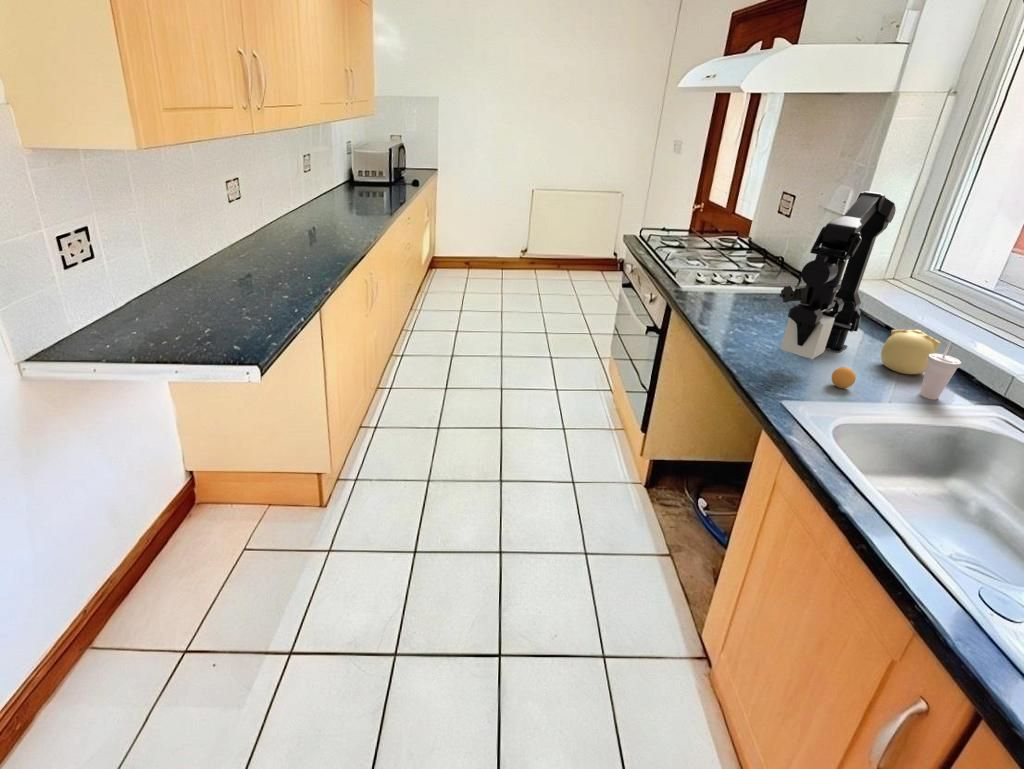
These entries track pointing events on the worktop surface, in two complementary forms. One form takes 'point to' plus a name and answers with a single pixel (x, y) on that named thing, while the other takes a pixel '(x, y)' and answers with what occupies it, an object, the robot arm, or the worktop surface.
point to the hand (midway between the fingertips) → (806, 341)
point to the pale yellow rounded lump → (908, 351)
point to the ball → (843, 377)
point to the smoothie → (938, 373)
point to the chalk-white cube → (814, 342)
